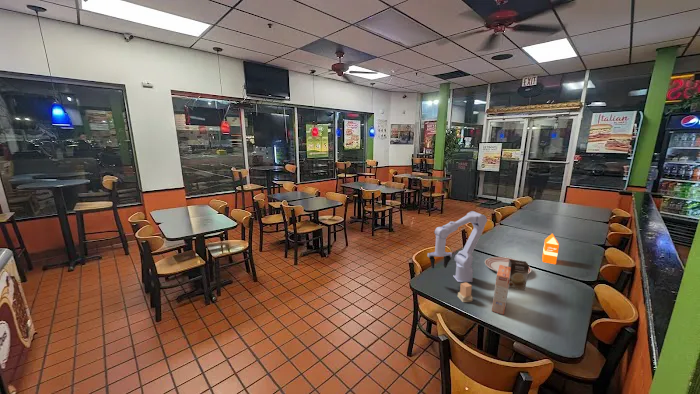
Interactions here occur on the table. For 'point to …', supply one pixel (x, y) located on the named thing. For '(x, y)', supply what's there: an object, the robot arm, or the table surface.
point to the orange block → (465, 289)
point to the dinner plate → (498, 263)
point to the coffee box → (518, 274)
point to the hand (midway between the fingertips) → (438, 267)
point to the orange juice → (550, 250)
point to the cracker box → (501, 289)
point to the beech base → (464, 298)
